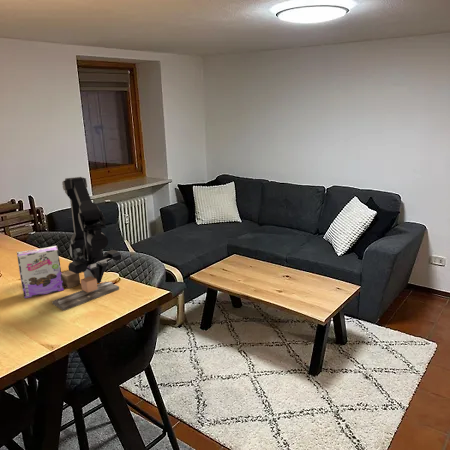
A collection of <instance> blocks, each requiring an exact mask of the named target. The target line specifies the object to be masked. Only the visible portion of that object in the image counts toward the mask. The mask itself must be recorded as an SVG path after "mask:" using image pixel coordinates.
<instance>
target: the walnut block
mask: <svg viewBox="0 0 450 450" xmlns="http://www.w3.org/2000/svg"><path fill="white" fill-rule="evenodd" d="M61 274H62V281H63V287H65V288H67V289H71V288H73V287H77V286H79V285H80V286H81V278H80V273H79V274H76V273H74V272H71V271H69V270H67V271H63V272H61Z"/></svg>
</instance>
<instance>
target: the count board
mask: <svg viewBox="0 0 450 450" xmlns="http://www.w3.org/2000/svg"><path fill="white" fill-rule="evenodd" d="M97 287H98V289H96V290H94V291H91V292H88V293H87V292H85V291H83V290H82V289H81V290H79V291H76V292H73V293H71V294H69V295H67V294H66V295H65V296H63V297H60V298H57V299H55V300H52V301H51V302H52V305H53V306H55V307H57V308H58V309H60V310H62V311H66V310H67V311H68V310H70V309H73V308H74V307H77V306H79V305H82V304H85V303H88V302H90V301H92V300H95V299H98V298H101V297H103V296H106V295H108V294H111V293H114V292H116V291H119V290H120V286H119V285H117V284H115V283H113V281H108V282H106V281H104V282H101V283H99V284H97Z"/></svg>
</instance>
